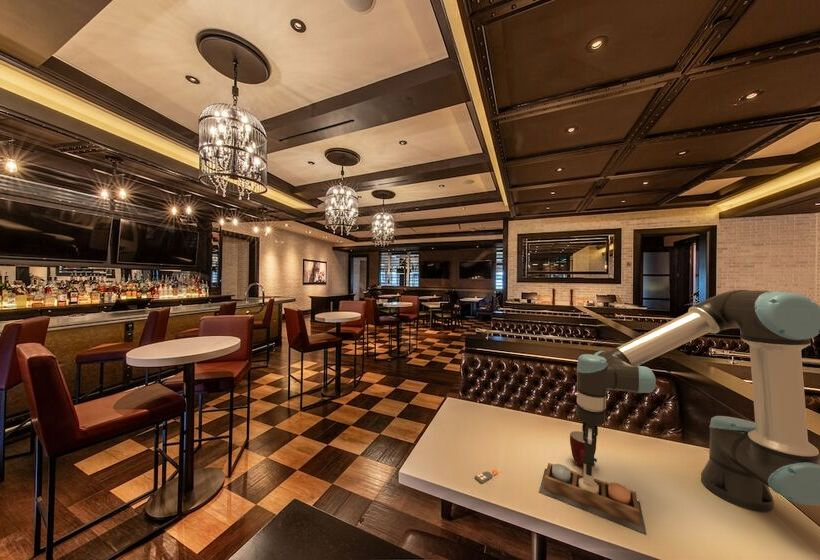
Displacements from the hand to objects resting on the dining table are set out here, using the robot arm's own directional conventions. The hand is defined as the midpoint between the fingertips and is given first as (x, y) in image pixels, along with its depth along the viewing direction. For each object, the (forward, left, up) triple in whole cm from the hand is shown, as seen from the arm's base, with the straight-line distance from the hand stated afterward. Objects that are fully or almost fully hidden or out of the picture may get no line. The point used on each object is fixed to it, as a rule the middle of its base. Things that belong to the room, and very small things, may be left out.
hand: (588, 482), depth 87 cm
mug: (+2, -16, -5) cm, 16 cm away
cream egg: (0, 0, -3) cm, 3 cm away
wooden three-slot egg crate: (0, 0, -5) cm, 5 cm away
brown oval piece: (-8, 0, -2) cm, 8 cm away
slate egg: (+7, 0, -2) cm, 8 cm away
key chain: (+28, +7, -5) cm, 29 cm away
